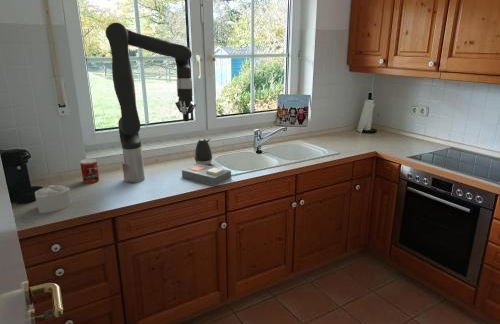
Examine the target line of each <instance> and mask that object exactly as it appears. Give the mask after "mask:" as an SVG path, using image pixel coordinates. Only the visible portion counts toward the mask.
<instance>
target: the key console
mask: <svg viewBox="0 0 500 324" xmlns="http://www.w3.org/2000/svg"><path fill="white" fill-rule="evenodd" d="M195 166H200V167H205V169H203V170H200V171H194V170H190V168H193V167H195ZM214 167H215V168H217V166H211V165H203V164H197V163H196V164H194V165H192V166H189V167H187V168H186V167H185V168H183V169H181V177H182V178H183V179H186V180H187V179H188V180H192V181H196V182H199V183H204V184H205V185H210V186H218V185H219V184H222V183H224V182H226V181H228V180H230V179H232V170H229V169H225V168H220V167H218V168H219V169H223V171H224V172H223V173H221V174H219V175H216V176H215V175H211V174H207V170H209V169H212V168H214Z"/></svg>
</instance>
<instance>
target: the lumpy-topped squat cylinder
mask: <svg viewBox="0 0 500 324" xmlns="http://www.w3.org/2000/svg"><path fill="white" fill-rule="evenodd" d="M34 197H35V200H36V201H35V202H36V206H37V210H38V213H39V214H47V213H48V214H49V213H53V212H57V211H61V210H64V209H66V208H68V207H70V206H71V205H72V204H73V201H72V195H71V189H70V187H69V186H64V185H53V184H52V185H51V184H50V185H48V186H46V187H45V188H44V187H43V188H40V189H38V190H36V191H34Z"/></svg>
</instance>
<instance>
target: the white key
mask: <svg viewBox="0 0 500 324" xmlns="http://www.w3.org/2000/svg"><path fill="white" fill-rule="evenodd" d="M213 167H214V168H212V169H209V170H207V174H211V175H215V176H216V175H219V174H221V173H223V172H224V171H223V169H224V168H221V169H219V168H220V167H216V166H213ZM215 167H216V168H215Z"/></svg>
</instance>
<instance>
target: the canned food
mask: <svg viewBox="0 0 500 324" xmlns="http://www.w3.org/2000/svg"><path fill="white" fill-rule="evenodd" d="M79 164H80V171H81V177H82V181H83V184H87V185H90V184H94V183H98V182H99V181H100V174H99V169H98V161H97V159H96V158H85V159H82V160H80V162H79Z"/></svg>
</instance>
